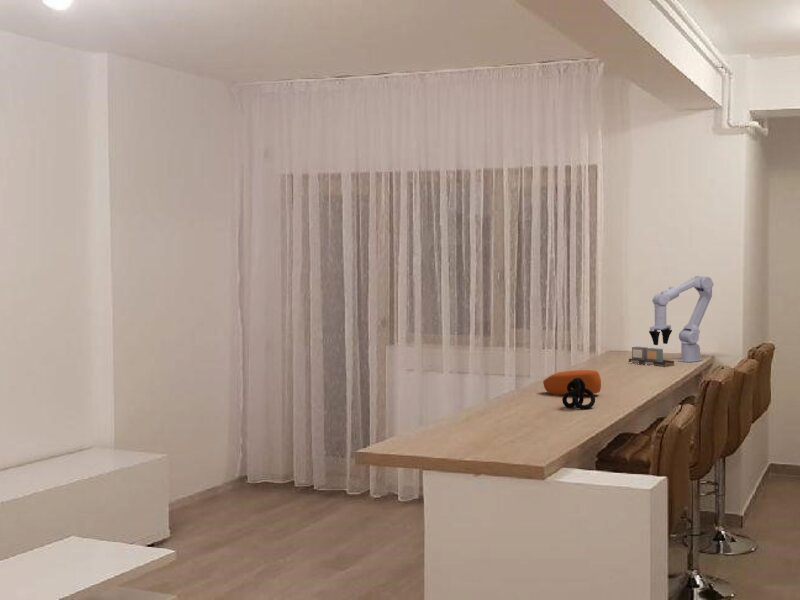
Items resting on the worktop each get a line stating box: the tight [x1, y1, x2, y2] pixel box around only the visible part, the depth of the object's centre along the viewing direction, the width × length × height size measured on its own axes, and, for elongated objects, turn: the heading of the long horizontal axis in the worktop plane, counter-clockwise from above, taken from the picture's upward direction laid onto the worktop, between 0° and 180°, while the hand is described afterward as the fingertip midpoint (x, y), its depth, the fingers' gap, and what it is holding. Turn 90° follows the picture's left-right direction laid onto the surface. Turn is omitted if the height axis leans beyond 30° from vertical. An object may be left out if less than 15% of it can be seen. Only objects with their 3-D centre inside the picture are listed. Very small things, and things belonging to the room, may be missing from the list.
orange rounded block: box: [542, 369, 602, 396], centre depth 455 cm, size 12×11×25 cm
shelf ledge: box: [628, 358, 675, 368], centre depth 544 cm, size 8×22×2 cm, turn 38°
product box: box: [646, 347, 664, 362], centre depth 542 cm, size 4×7×7 cm, turn 38°
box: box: [631, 346, 649, 360], centre depth 549 cm, size 4×7×7 cm, turn 39°
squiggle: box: [561, 377, 596, 410], centre depth 424 cm, size 11×10×15 cm
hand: (660, 344), depth 548 cm, fingers open, 7 cm apart
